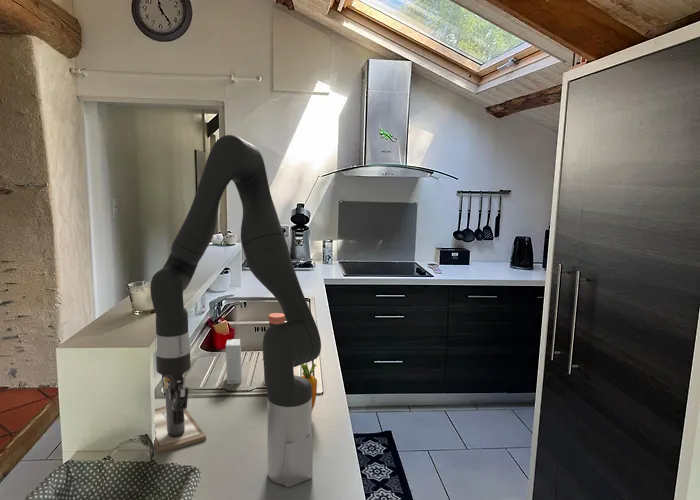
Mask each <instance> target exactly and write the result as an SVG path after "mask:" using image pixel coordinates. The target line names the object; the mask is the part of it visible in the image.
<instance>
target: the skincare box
mask: <svg viewBox="0 0 700 500" xmlns="http://www.w3.org/2000/svg"><path fill="white" fill-rule="evenodd" d="M241 347H242V346H241V338H232V339H227V340H226V343H225V359H226V360H225V363H226V364H225V365H226V366H225V367H226V384H227V385H237V384H241V383H242V380H243V369H242V367H243V366H242V349H241Z"/></svg>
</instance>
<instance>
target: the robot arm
mask: <svg viewBox="0 0 700 500" xmlns="http://www.w3.org/2000/svg"><path fill="white" fill-rule="evenodd" d="M211 147H212V148H211V149H210V151H209V153H208V156H207V159H206V162H205V165H204V169H203V172H202V174H201V176H200V181H199V183H198V186H197V190H196V191H195V194H194V198H193V201H192V204H191V206H190V209H189V211H188V214H187V215H186V217H185V218H184V221H183V223H182V225H181V227H180V229H179V230H178V233H177V234H176V237H175V239H174V240H173V242H172V243H171V244H172V245H171V248H170V250H171V251H170V252H171V253H170V254H169V256H168V258H167V260H166V261H165V263H164V265H163V266H162V268H161V269H159V270H158V271H156V272H155V273H154V274H153V276H152V278H151V280H150V281H151V282H150V297H151V302H152V306H153V311H154V313H155V333H156V334H155V335H156V336H155V339H156V338H157V350H156V349H155V365H156V366H155V367H156V369H155V370H156V372H157V373H158V374H159V375H161V383H162V389H163V396H164V397H166V394H165V381H164V378H166V376H167V377H168V378H169V379H170V381H172V382H169V381H167V388H168V392H169V399H170V400H171V401H172V409H173V423H174V424H175V425H177V424H181V423H183V421H184V418H183V409H186V410H187V407H188V401H189V400H188V399H189V396H188V395H189V388H188V387H186V378H185V377H184V374H186V372H188V371H189V370H190V369H191V364H192V363H191V339H190V333H189V314H188V310H187V308H186V307H185V306H184V305H185V304H184V291H185V290H186V289H187V288H188V286H189V285H190V283H191V281H192V279H193V276H194V275H195V273H196V270H197V268H198V266H199V265H198V264H199V262H200V260H201V259H202V258H203V257H204V255H205V253H206V251H207V248H208V247H209V245H210V243H211V241H212V239H213V237H214V235H215V232H216V229H217V223H218V212H219V207H220V202H221V199H222V196H223V194H224V192H225V190H226V188H227V187H228V185H229V184H230V182H231V181H232V182H233V183H234V185H235V187H236V189H237V192H238V195H239V198H240V201H241V206H242V207H241V208H242V216H241V217H242V218H241V225H240V242H241V246H242V250H243V253H244V257H245V260H246V263H247V266H248V268H249V270H250V272H251V274H252V275H253V276H254V277H255V278H256V280H258V281H259V282H260V284H262V285H263V286H264V287H265V288H266V289H267V290H268V291H269V292H270V293H271V295H272V296H273V297H274V298H275V299H276V300H277V303H278V304H279V305H280V308H281V309H282V312H283V314H284V315H285V323H281V324H277V325H273V326H271V327H270V326H269V327H268V328H267V329H266V330H265V332H264V334H263V337H262V338H263V339H262V358H263V375H264V376H263V377H264V383H265V388H266V392H267V476H268V479H270V480H271V481H272V482H273V483H276V484H279V485H283V486H284V487H285V488H291V487H293V486H296V485H298V484H300V483H304V482H306V481H308V480H310V479H313V478H314V477H313V473H314V472H313V471H314V469H313V467H314V465H313V463H314V436H313V435H312V418H313V417H312V415H313V413H312V412H313V410H312V385H311V383H310V382H309V381H308V380H307V379H305V378H303V377H301V376H299V375H296V374H295V373H294V368H296V367H298V366H301V365H302V364H304V365H305V364H308V363H310V362H313V361H315V360H317V359H318V357H319V356H320V354H321V351H322V341H321V336H320V332H319V329H318V326H317V323H316V321H315V319H314V316H313V313H312V312H311V309H310V307H309V305H308V301H307V300H306V298H305V295H304V293H303V290H302V286H301V285H300V281H299V278H298V276H297V273H296V270H295V267H294V264H293V260H292V258H291V253H290V249H289V246H288V243H287V240H286V237H285V234H284V231H283V228H282V225H281V222H280V220H279V216H278V213H277V209H276V207H275V204H274V201H273V198H272V194H271V190H270V185H269V180H268V176H267V170H266V165H265V160H264V157H263V155H262V153H261V151H260V150H259V149H258V147H256V146H255V145H254V144H252V143H250V142H248V141H247V140H244V138H243V139H242V138H241V137H239V136H237V135H233V134H225V135H224V136H221V137H220V138H218V139H217V140H216V141H215V142H214V144H213V145H212V146H211ZM172 394H175V395H176V396H172ZM179 403H180V404H179Z"/></svg>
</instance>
